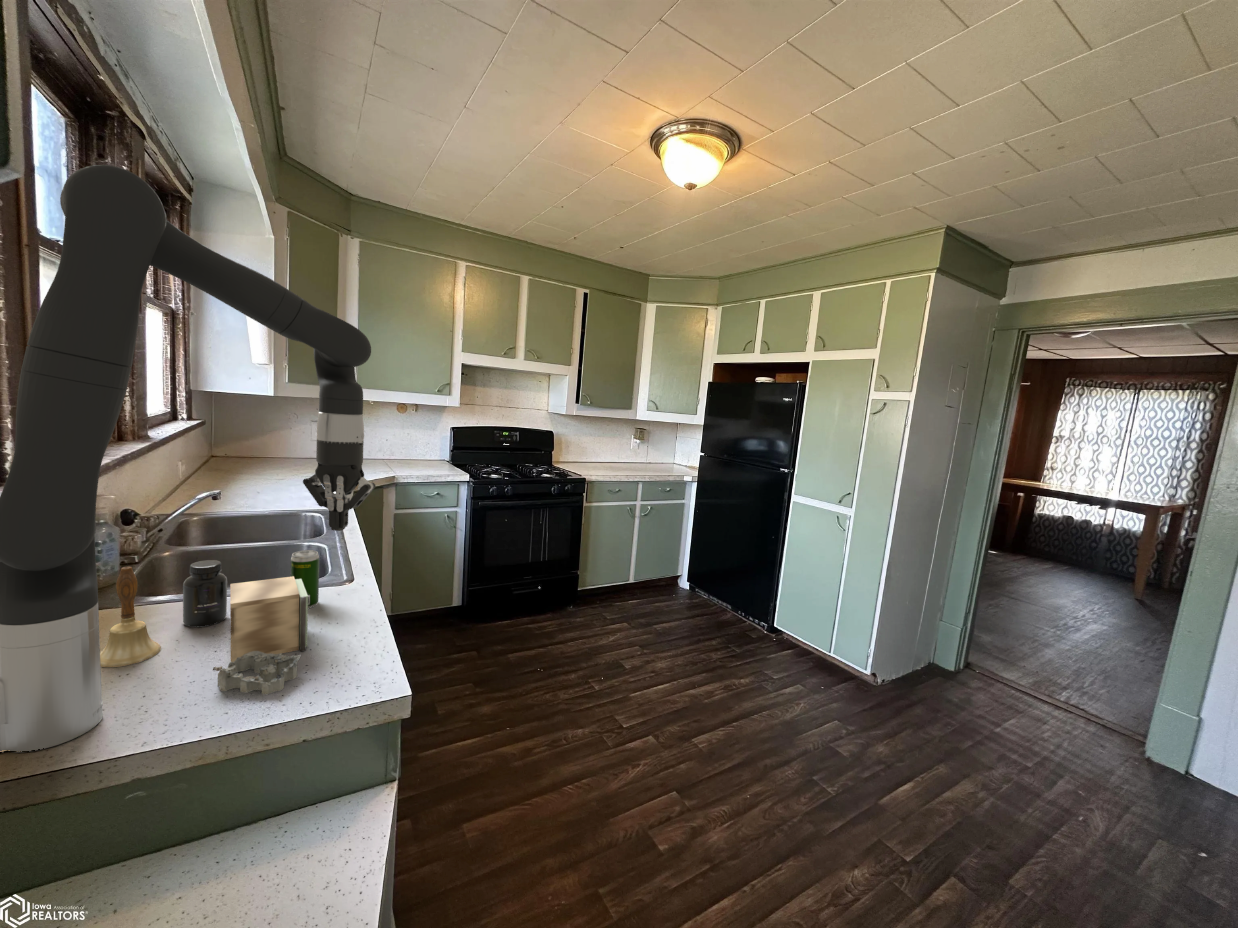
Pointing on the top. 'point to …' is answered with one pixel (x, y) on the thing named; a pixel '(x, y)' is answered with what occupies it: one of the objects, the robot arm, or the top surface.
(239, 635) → the cupboard
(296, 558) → the beer can
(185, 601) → the supplement bottle
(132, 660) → the hand bell
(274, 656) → the egg carton
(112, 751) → the top surface
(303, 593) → the door
